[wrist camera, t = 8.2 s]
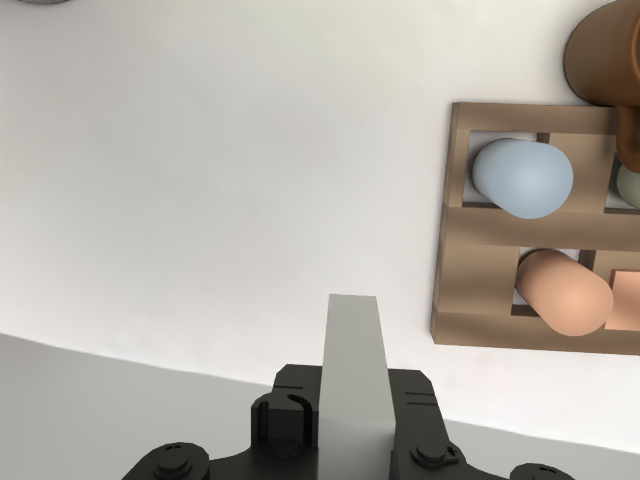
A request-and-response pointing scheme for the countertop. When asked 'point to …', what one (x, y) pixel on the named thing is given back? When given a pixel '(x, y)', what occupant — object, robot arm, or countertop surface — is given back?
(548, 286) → the peach rounded cylinder
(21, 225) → the countertop surface
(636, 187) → the pale green rounded cylinder
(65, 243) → the countertop surface
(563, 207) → the wooden compartment tray
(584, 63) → the mug
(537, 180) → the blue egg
